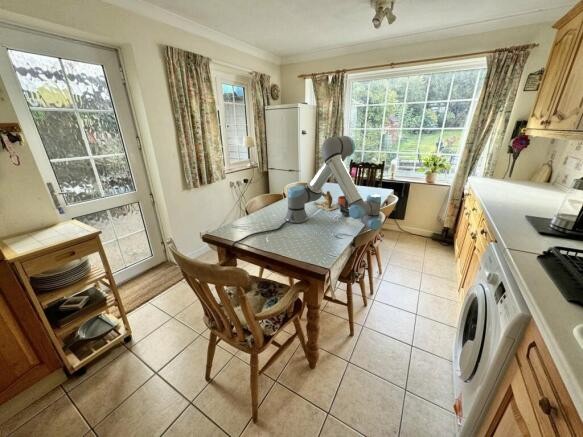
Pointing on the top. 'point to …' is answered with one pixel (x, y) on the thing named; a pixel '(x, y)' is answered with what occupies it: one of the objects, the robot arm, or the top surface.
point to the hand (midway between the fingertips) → (349, 205)
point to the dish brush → (346, 207)
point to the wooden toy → (326, 202)
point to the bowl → (342, 200)
